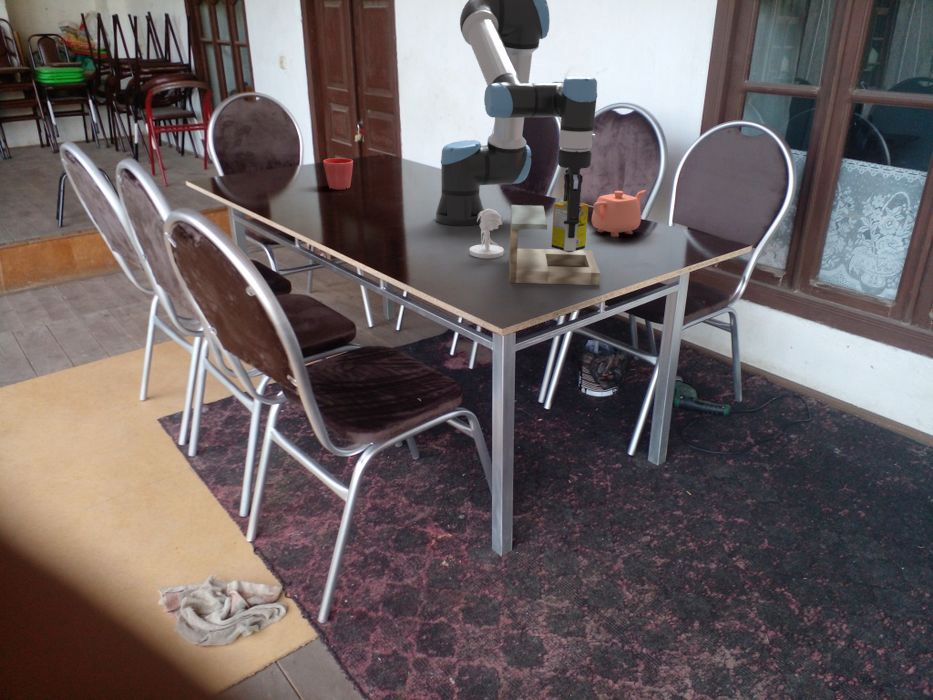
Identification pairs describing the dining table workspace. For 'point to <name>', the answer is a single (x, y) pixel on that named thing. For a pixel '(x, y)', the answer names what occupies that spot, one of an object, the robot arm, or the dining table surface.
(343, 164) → the flower pot
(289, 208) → the dining table surface
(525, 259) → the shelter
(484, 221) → the figurine
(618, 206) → the teapot
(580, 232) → the supplement box
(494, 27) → the robot arm
